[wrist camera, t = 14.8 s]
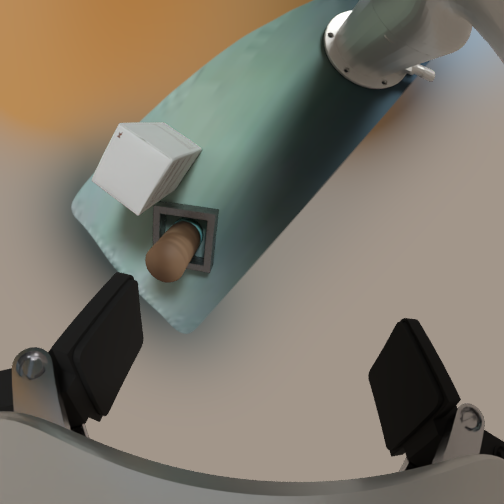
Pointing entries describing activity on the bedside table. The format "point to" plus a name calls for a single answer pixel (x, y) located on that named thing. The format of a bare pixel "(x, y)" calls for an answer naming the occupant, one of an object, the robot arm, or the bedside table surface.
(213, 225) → the socket
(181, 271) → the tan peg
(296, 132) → the bedside table surface
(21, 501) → the robot arm
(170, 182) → the supplement box
